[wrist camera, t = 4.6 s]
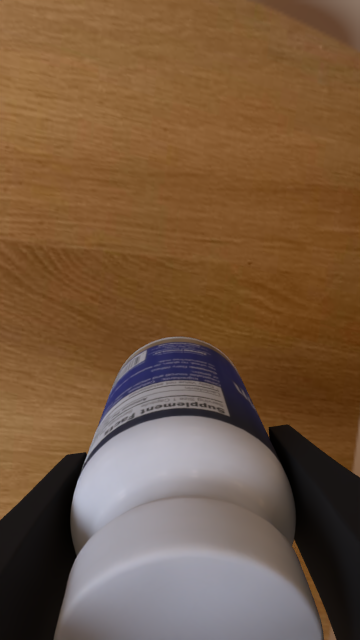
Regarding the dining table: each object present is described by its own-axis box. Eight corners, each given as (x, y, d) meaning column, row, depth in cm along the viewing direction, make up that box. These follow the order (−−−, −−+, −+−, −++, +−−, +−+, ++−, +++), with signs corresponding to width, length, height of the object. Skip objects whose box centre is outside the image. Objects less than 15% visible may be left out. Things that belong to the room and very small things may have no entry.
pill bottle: (246, 440, 16) (357, 758, 6) (125, 455, 16) (56, 791, 6) (236, 323, 15) (360, 509, 5) (103, 340, 15) (-29, 557, 5)
